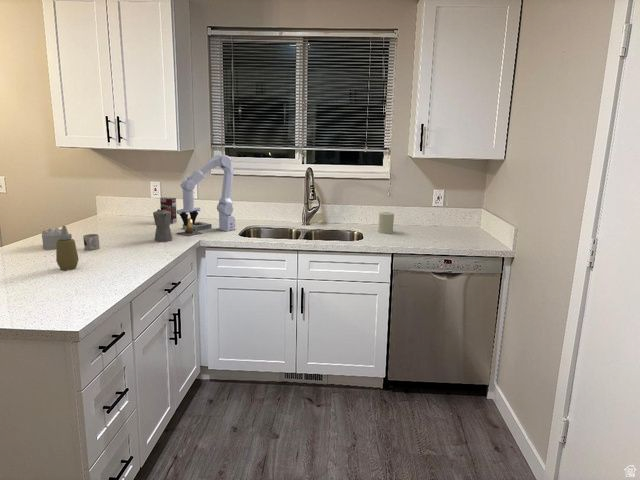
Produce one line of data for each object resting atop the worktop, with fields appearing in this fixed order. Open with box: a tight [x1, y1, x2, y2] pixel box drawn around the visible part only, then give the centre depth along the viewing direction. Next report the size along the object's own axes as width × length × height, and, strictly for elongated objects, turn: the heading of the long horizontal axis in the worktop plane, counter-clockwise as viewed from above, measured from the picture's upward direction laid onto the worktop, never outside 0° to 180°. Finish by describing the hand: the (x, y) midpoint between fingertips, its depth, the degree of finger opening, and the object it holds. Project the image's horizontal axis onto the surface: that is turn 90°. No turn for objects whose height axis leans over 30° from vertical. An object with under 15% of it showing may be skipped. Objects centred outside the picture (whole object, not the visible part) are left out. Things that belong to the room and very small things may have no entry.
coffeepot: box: [152, 206, 173, 243], centre depth 238 cm, size 15×9×18 cm, turn 33°
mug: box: [82, 233, 101, 251], centre depth 216 cm, size 10×7×7 cm, turn 21°
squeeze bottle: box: [55, 225, 80, 271], centre depth 184 cm, size 8×8×18 cm
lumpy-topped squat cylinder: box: [41, 227, 62, 251], centre depth 219 cm, size 10×13×9 cm
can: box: [377, 211, 395, 235], centre depth 273 cm, size 9×9×12 cm
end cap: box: [184, 217, 193, 234], centre depth 255 cm, size 4×4×8 cm
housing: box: [182, 221, 213, 232], centre depth 270 cm, size 12×12×2 cm
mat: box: [176, 230, 203, 237], centre depth 256 cm, size 10×10×1 cm
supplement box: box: [159, 196, 178, 225], centre depth 283 cm, size 9×5×16 cm, turn 73°
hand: (189, 225), depth 255 cm, fingers closed on end cap, 4 cm apart
